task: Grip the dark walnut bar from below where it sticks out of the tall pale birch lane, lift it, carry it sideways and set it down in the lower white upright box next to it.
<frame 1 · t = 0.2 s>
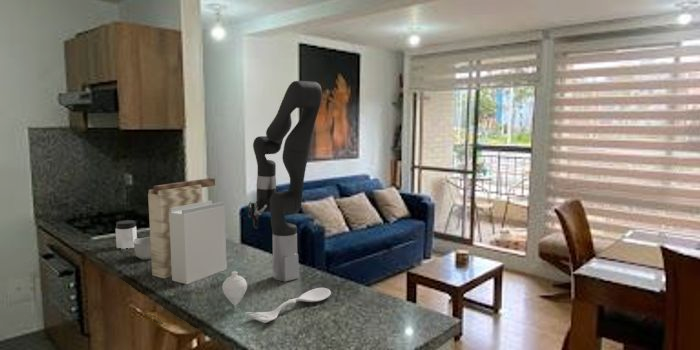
hand: (265, 226, 185), 17 cm above the worktop, tool pointing down, fingers open, 8 cm apart
teacup: (146, 257, 204), on the worktop
spinning top: (235, 308, 148), on the worktop
jar: (127, 247, 220), on the worktop
walnut bar: (186, 189, 187), point 32 cm above the worktop, touching tall stand
white upright box: (200, 274, 180), on the worktop
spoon: (293, 310, 148), on the worktop
tall stand: (179, 269, 186), on the worktop
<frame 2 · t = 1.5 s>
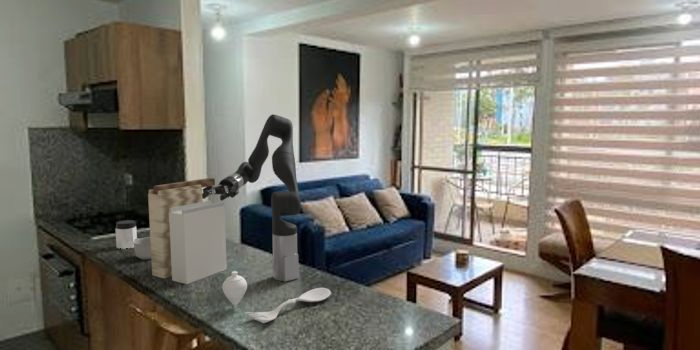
hand: (211, 197, 189), 28 cm above the worktop, tool horizontal, fingers open, 8 cm apart
nothing on the worktop moved.
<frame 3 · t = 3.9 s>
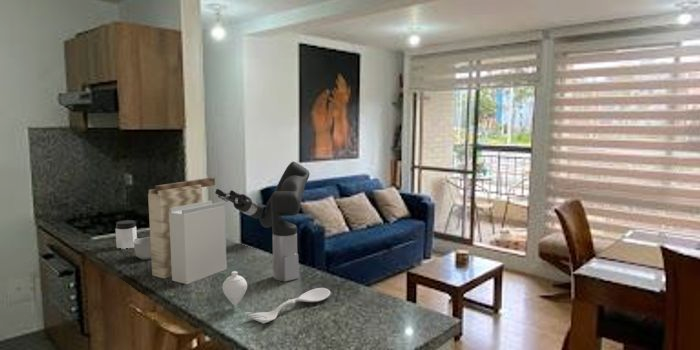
hand: (223, 191, 204), 28 cm above the worktop, tool pointing upward, fingers open, 8 cm apart
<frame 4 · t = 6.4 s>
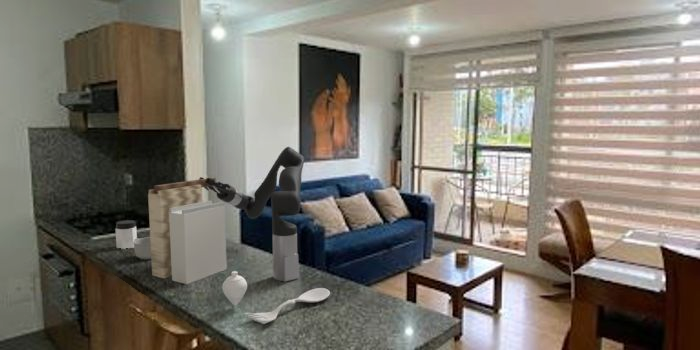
hand: (203, 179, 194), 35 cm above the worktop, tool pointing upward, fingers open, 3 cm apart
walnut bar: (187, 189, 187), point 32 cm above the worktop, touching gripper, tall stand
everything else where it was.
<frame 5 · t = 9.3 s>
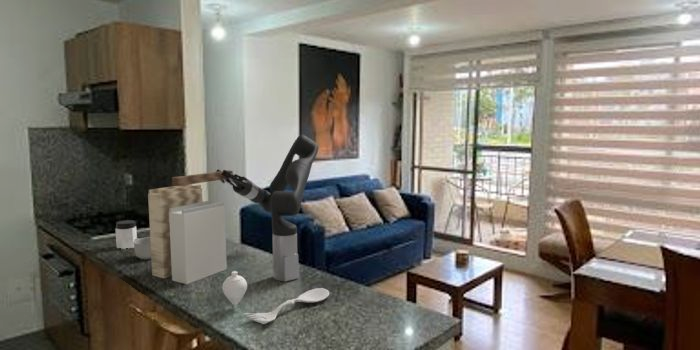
hand: (220, 171, 188), 39 cm above the worktop, tool pointing upward, fingers closed on walnut bar, 3 cm apart
walnut bar: (204, 181, 181), point 36 cm above the worktop, touching gripper
everything else where it was.
when the fingers open (30 cm above the worktop, at t = 12.2 s): walnut bar stays where it is, resting on white upright box.
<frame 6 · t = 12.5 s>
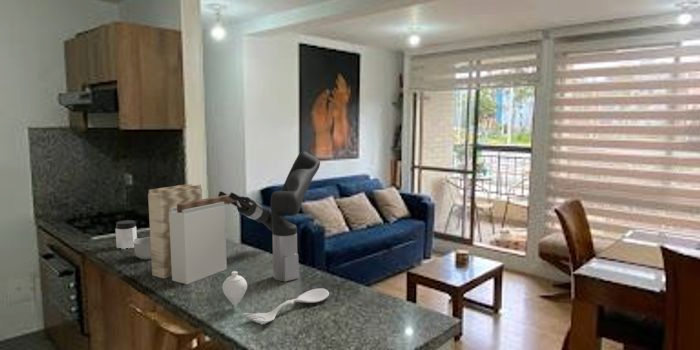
hand: (225, 194, 189), 30 cm above the worktop, tool pointing upward, fingers open, 5 cm apart
walnut bar: (209, 206, 182), point 26 cm above the worktop, touching white upright box
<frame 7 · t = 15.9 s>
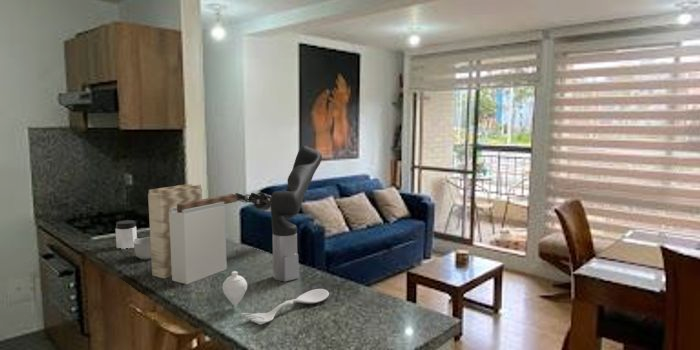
hand: (243, 195, 198), 28 cm above the worktop, tool pointing upward, fingers open, 8 cm apart
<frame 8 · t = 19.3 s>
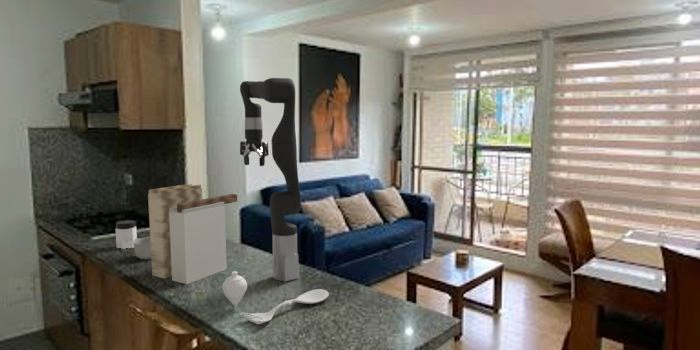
hand: (254, 165, 202), 40 cm above the worktop, tool pointing down, fingers open, 8 cm apart
at the end: walnut bar inside the target area on the white upright box (0.6 cm from its centre), point 26.0 cm above the white upright box's base; the gripper is holding nothing; walnut bar tilted 0° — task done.
